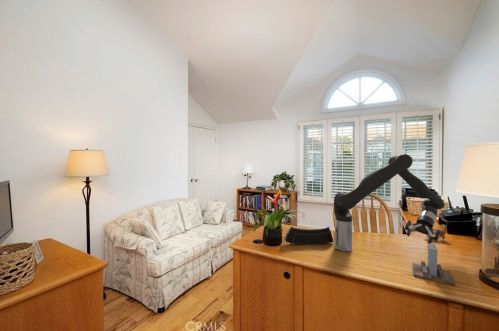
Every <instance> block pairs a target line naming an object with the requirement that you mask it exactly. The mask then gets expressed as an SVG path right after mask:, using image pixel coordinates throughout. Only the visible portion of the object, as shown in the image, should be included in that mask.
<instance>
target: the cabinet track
mask: <svg viewBox="0 0 499 331" xmlns="http://www.w3.org/2000/svg"><path fill="white" fill-rule="evenodd" d="M412 272H413V277H414V278H420V279H424V280H428V281H432V282H436V283H441V284H444V285H449V286H453V287H456V285H457V284H456V281H455V279H454V277H453V274H452V272H451V271H450V270H448V269H443V267H442V265H441V264H439V263H437V277H435V276H431V275H429V271H428V265H427V263H426V261H425V260H420V263H416V262H415V263H414V262H412Z"/></svg>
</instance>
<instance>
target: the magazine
mask: <svg viewBox="0 0 499 331" xmlns="http://www.w3.org/2000/svg"><path fill="white" fill-rule="evenodd" d="M284 241H285V242H286V243H289V244H290V245H291V246H292V245H293V244H294V245H300V246H303V245H304V246H310V245H311V246H312V245H313V246H315V245H317V246H319V245H324V244H325V245H326V244H330V243H334V237H333V236H332V231H331V229H330V226H327V227H324V228H315V229H314V228H313V229H312V228H311V229H307V228H306V229H304V228H297V227H293V226H290V228H288V230H287V232H286V234H285V237H284Z"/></svg>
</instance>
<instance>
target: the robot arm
mask: <svg viewBox="0 0 499 331" xmlns="http://www.w3.org/2000/svg"><path fill="white" fill-rule="evenodd" d="M413 161H414V160H413V158H412V156H411V155H409V154H407V153H401V154H397V155H392V156H391V157H389V159H388V164H387V165H386V166H383V167H380V168H379V169H376V170H374V171H373V172H371V173H369V174H367V175H366V176H365V177H363V178H362V179H361V181H360V183H359V184H358V186H357V187H356V188H355V189H353V190H351V191H350V192H347V193H345V192H341V191H340V192H337V193H336V194H335V195H334V198H333V214H334V216H335V221H334V222H335V225H334V226H335V230H334V234H333V236H334V237H333V241H334V242H333V244H334V245H333V246H334V248H333V249H336V250H338V251H341V252H351V251H352V250H353V216H352V214H351V212H350V210H352V209H354V208H355V206H357V205H358V204H359V203H360V202H362V200H364V199H365V198H366V197H368V196H369V195H371V194H372V193H373V192H375V191H376V190H378V189H380V187H382V186H384V184H386V183H387V182H389V181H391V180H392V179H394V177H396V176H397V175H398V176H399V177H400V178H402V180H404V182H406V184H408V186H409V187H410V188H411V189H412V190H413V192H414V193H415V194H416V196H417V197H418V198H419V199H424V200H422V201H421V211H420V213H419V214H418V217H417V219H416V221H415V222H412V220H408V221H407V222H406V224H405V226H404V230H405V231H407V232H406V236H407V237H410V236H411V233H412V232H413V233H415V232H417V233H419V234H422V235H425V236H426V238H427V237H429V239H427V245H428V243H430V244H433V241H435V242H438V240H439V239H438V238H439V233H440V231H439V230H437V231H435V230H433V228H434V226H435V223H436V219H437V215H438V210H442V209H444V208H445V205H446V204H445V201H444V200H443V199H442V198H441V197H440V196H438V195H437V194H435V193H434V192H433V191H432V190H431V189H430V188H429V187H428V186H427V184H426V183H425V182H424V181H423V180H421V179H420V178H419V177H417V176H416V175H415V174H413V173H412V172H411V171H410V170H408V169H410V168H411V166H413V163H414V162H413ZM432 232H433V233H434V235H432Z"/></svg>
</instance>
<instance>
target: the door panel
mask: <svg viewBox="0 0 499 331" xmlns="http://www.w3.org/2000/svg"><path fill="white" fill-rule="evenodd" d="M427 243H428V242H427ZM437 264H438V248H437V246H436V244H435V243H431V244H430V243H428V244H427V266H428V271H429V275H431V276H435V277H437Z"/></svg>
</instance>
